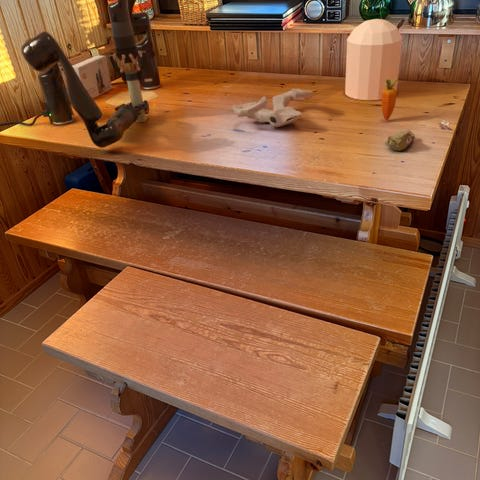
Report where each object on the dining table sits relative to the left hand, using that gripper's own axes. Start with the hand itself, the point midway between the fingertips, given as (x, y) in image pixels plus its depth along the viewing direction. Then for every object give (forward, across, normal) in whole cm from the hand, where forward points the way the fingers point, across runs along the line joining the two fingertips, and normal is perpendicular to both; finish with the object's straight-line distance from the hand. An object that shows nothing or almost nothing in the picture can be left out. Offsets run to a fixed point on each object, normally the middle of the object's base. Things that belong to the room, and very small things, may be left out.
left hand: (140, 102), depth 187 cm
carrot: (-8, -96, +6) cm, 96 cm away
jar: (-3, 0, +6) cm, 7 cm away
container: (+25, -92, +6) cm, 95 cm away
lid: (-3, 0, -12) cm, 13 cm away
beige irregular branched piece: (-10, -58, +6) cm, 59 cm away
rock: (-30, -99, +6) cm, 103 cm away
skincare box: (+32, +35, +6) cm, 48 cm away
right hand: (-3, 0, -10) cm, 10 cm away
